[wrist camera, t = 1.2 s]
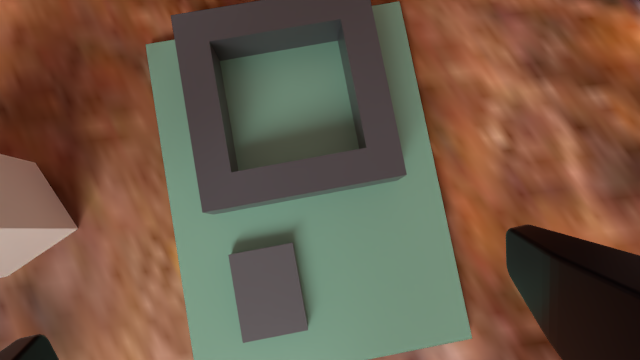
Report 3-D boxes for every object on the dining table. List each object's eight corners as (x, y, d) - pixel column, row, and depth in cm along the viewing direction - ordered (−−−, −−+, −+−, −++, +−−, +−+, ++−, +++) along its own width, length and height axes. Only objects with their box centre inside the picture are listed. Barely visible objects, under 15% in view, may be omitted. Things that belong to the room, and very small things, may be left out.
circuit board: (467, 335, 22) (492, 351, 19) (201, 388, 22) (184, 414, 19) (397, 6, 24) (409, -25, 21) (149, 49, 23) (125, 22, 20)
